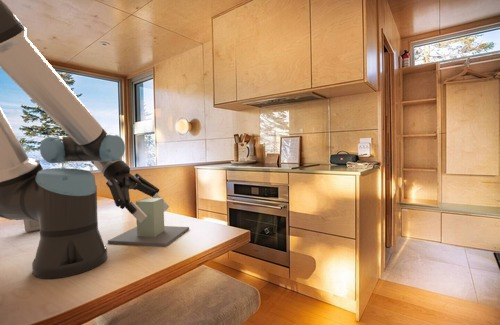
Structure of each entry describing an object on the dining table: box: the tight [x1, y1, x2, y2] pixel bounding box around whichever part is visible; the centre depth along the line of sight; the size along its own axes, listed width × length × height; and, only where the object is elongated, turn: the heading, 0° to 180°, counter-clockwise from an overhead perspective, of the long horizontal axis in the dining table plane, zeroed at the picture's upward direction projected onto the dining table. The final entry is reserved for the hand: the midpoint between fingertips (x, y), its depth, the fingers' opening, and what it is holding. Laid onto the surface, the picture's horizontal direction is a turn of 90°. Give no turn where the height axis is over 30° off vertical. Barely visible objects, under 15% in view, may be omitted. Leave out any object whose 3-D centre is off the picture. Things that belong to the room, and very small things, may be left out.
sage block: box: [135, 197, 165, 237], centre depth 84 cm, size 6×6×11 cm
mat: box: [107, 225, 190, 247], centre depth 85 cm, size 16×19×1 cm
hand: (156, 214), depth 84 cm, fingers open, 13 cm apart
